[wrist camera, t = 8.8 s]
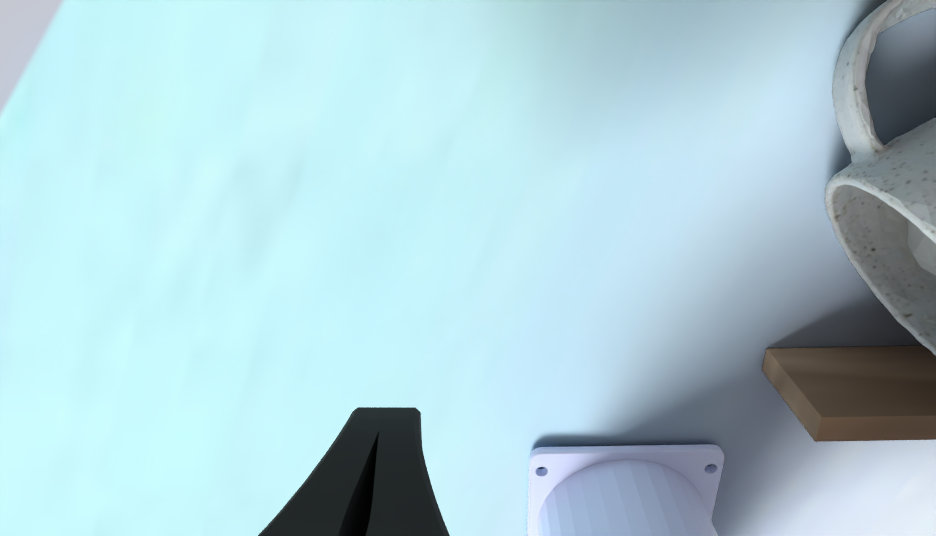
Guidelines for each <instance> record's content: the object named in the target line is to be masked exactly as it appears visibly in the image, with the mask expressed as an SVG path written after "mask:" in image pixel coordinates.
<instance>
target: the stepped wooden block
mask: <svg viewBox="0 0 936 536" xmlns="http://www.w3.org/2000/svg"><path fill="white" fill-rule="evenodd" d="M762 371H763V372H764V374H765V375H766V376H767V378H768V379H769V380H770V382H771V383H772V384H773V386H774V387H775V388H776V390H777V391H778V393H779V394H780V395H781V397H782V398H783V399H784V401H785V402H786V403H787V405H788V406H789V407H790V409H791V410H792V411H793V413H794V414H795V415H796V417H797V418H798V419H799V421H800V422H801V423H802V425H803V426H804V427H805V429H806V430H807V431H808V433H809V434H810V435H811V437H812V438H813V440H814V441H871V440H931V439H936V356H935V355H934V354H933V353H932V351H930V350H929V349H928V348H927V347H925V346H872V347H817V348H767V349H766V354H765V358H764V362H763V367H762Z"/></svg>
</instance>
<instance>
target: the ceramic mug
mask: <svg viewBox="0 0 936 536" xmlns="http://www.w3.org/2000/svg"><path fill="white" fill-rule="evenodd" d="M935 8H936V0H887V1H886V2H884V3H883V4H882V5H880V6H879V7H878V8H876V9H875V10H874V11H873V12H871V13H870V14H869V15H868V16H867V17H866V18H864V19H863V20H862V21H861V22H860V23H859V25H858V26H857V27H856V29H855V30H854V31H853V32H852V34H851V35H850V36H849V37H848V39H847V40H846V42H845V44H844V46H843V47H842V49H841V52H840V55H839V59H838V62H837V65H836V68H835V72H834V76H833V85H832V95H833V105H834V108H835V113H836V118H837V122H838V125H839V128H840V131H841V134H842V136H843V139H844V142H845V145H846V146H847V148H848V150H849V152H850V154H851V161H852V163H851V164H849V165H848V166H847V167H845V168H844V169H843V170H841V171H840V172H838V173H837V174H835V175H834V176H833V177H832V178H831V180H830V181H829V182H828V184H827V186H826V188H825V205H826V210H827V213H828V215H829V218H830V220H831V223H832V226H833V229H834V232H835V235H836V237H837V239H838V240H839V242H840V244H841V246H842V247H843V249H844V251H845V252H846V254H847V256H848V258H849V260H850V262H851V263H852V264H853V265H854V266H855V268H856V270H857V272H858V273H859V275H860V276H861V277H862V278H863V280H864V281H865V282H866V283H867V284H868V286H869V287H870V289H871V290H872V291H873V293H874V294H875V295H876V297H877V298H878V299H879V300H880V301H881V303H882V304H883V305H884V306H885V307H886V308H887V309H888V310H889V312H890V313H891V314H892V315H893V317H894V318H895V319H896V320H897V321H898V322H899V323H900V324H901V325H902V326H904V327H905V328H906V329H907V330H908V331H909V332H910V333H912V335H913V336H914V337H915V338H916V339H917V340H918V341H919V342H920V343H921V344H923V345H924V346H925V347H927V348H928V349H929V350H930V351H932V353H933V354H934V355H935V356H936V117H935V118H933V119H931V120H929V121H927V122H925V123H923V124H921V125H919V126H918V127H916V128H914V129H912V130H911V131H909V132H907V133H905V134H903V135H900V136H897V137H896V138H894V139H893V140H892V141H890V142H889V143H887V144H885V145H883V143H882V142H881V141H880V140H879V139H878V137H877V135H876V132H875V130H874V126H873V119H872V117H871V114H870V112H869V106H868V100H867V94H866V88H865V77H866V73H867V69H868V65H869V60H870V55H871V53H872V52H873V51H874V47H875V43H876V38H877V35H878V34H880V33H881V32H883V31H885V30H887V29H888V28H890V27H892V26H893V25H895V24H897V23H899V22H901V21H903V20H905V19H907V18H909V17H911V16H913V15H916V14H918V13H921V12H923V11H926V10H928V9H935Z"/></svg>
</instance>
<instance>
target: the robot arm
mask: <svg viewBox="0 0 936 536" xmlns="http://www.w3.org/2000/svg"><path fill="white" fill-rule="evenodd" d="M724 459H725V457H724V453H723V452H722V450H721V448H720V447H719V446H717V445H713V444H703V445H642V446H581V447H539V448H536V449H534V450H532V451H531V453H530V455H529V477H528V512H527V536H718V535H717V532H716V530H715V528H714V526H713V523H712V521H711V519H712V515H713V510H714V505H715V501H716V496H717V491H718V487H719V482H720V477H721V473H722V468H723V464H724ZM709 464H712V465H711V466H708V467H706V466H707V465H709ZM538 467H545V468H544V469H537V468H538ZM258 536H450V535H449V533H448V531H447V528H446V526H445V523H444V521H443V518H442V515H441V513H440V510H439V507H438V504H437V501H436V499H435V496H434V492H433V489H432V486H431V483H430V479H429V475H428V472H427V468H426V464H425V460H424V455H423V450H422V438H421V414H420V411H418V410H417V409H416V408H357V409H355V410H354V411H353V412H352V414H351V416H350V417H349V419H348V421H347V422H346V424H345V426H344V427H343V429H342V430H341V432H340V433H339V435H338V436H337V438H336V439H335V441H334V442H333V444H332V445H331V447H330V448H329V450H328V451H327V452H326V454H325V455H324V457H323V458H322V459H321V461H320V462H319V463H318V465H317V466H316V467H315V469H314V470H313V471H312V473H311V474H310V475H309V477H308V478H307V479H306V481H305V482H304V483H303V485H302V486H301V487H300V488H299V489H298V491H297V492H296V493H295V494H294V495H293V497H292V498H291V499H290V500H289V501H288V503H287V504H286V505H285V506H284V507H283V509H282V510H281V511H280V512H279V513H278V514H277V516H276V517H275V518H274V519H273V520H272V521H271V522H270V523H269V524H268V526H267V527H266V528H265V529H264V530H263V531H262V532H261V533H260V534H259V535H258Z"/></svg>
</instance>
